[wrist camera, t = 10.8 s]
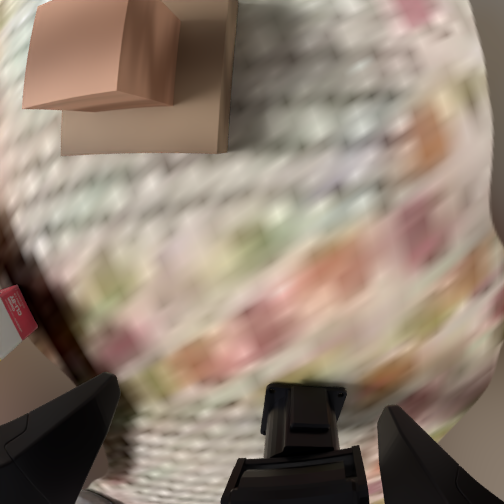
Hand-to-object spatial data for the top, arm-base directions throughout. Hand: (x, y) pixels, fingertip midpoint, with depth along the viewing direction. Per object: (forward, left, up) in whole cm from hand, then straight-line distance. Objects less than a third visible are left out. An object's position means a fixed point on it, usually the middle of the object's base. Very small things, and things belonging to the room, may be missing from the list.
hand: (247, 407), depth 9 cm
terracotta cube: (+12, +8, -9) cm, 17 cm away
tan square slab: (+12, +8, -12) cm, 19 cm away
